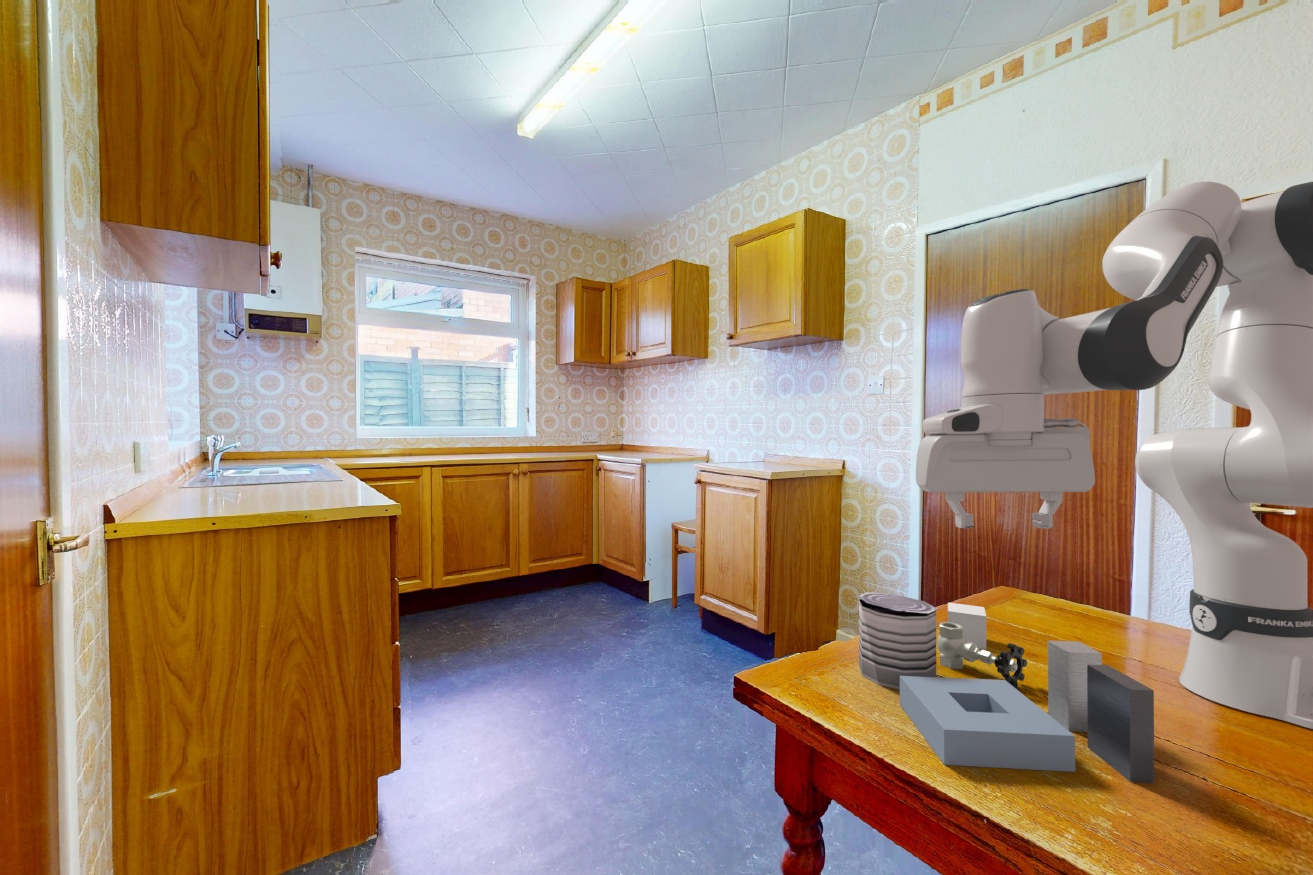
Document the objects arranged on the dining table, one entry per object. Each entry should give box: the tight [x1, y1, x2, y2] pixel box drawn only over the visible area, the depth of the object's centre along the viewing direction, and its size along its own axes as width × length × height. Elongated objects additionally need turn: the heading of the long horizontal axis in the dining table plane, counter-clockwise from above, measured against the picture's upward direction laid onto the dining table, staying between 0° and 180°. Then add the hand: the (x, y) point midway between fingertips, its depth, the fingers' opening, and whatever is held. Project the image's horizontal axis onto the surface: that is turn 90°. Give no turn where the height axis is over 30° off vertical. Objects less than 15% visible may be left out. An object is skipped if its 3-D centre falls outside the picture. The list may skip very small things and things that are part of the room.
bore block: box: [899, 676, 1076, 773], centre depth 67 cm, size 14×14×4 cm
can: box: [856, 591, 939, 691], centre depth 85 cm, size 11×11×12 cm
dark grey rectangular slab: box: [1087, 664, 1155, 784], centre depth 61 cm, size 2×6×10 cm, turn 175°
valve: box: [936, 621, 1028, 690], centre depth 85 cm, size 7×7×12 cm
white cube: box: [947, 602, 987, 650], centre depth 99 cm, size 6×6×6 cm
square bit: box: [1047, 640, 1103, 733], centre depth 70 cm, size 4×4×10 cm
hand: (1003, 527), depth 68 cm, fingers open, 8 cm apart
